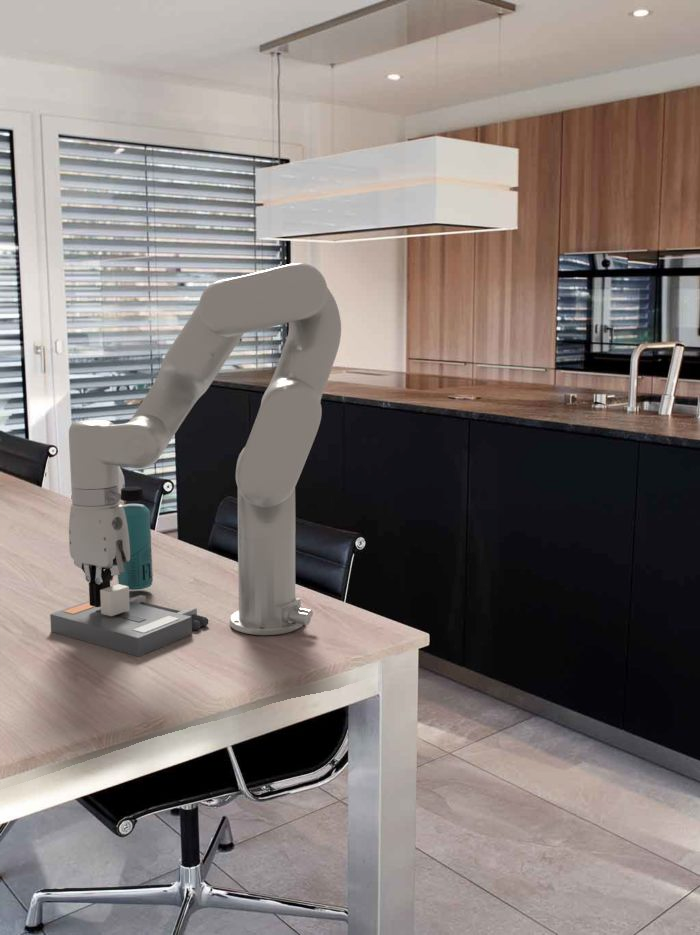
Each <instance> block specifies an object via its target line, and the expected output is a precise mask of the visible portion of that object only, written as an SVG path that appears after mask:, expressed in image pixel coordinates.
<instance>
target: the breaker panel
mask: <svg viewBox="0 0 700 935" xmlns="http://www.w3.org/2000/svg"><path fill="white" fill-rule="evenodd" d="M129 605H130V610H128V611H125V612H122V613H119V614H117V615H114V616H108V615H104V614H101V607H95V606H91V605H90V600H87V601H86V602H83V603H79V604H76V605H73V606H71V607H68V608H65V609H61V610H58V611H56V612H52V613H50V614H49V617H50V618H49V620H50V632H51V633H55V634H57V635H62V636H65V637H69V638H72V639H76V640H79V641H81V642H82V641H83V642H86V643H90V644H93V645H95V646H96V645H97V646H99V647H104V648H106V649H110V650H114V651H118V652H120V653H121V652H122V653H124V654H127V655H128V654H129V655H131V656H135V657H139V658H140V657H141V655H142V656H144V655H146V654H149V653H151V652H153V651H155V650H156V651H157V650H159V649H160V648H162V647H165V646H168V645H169V644H173V643H175V642H176V641H180V640H181V639H184V638H187V637H190V636H191V635H193V629H192V617H191V616H187V615H183V614H179V613H174V612H170V611H166V610H162V609H158V608H154V607H150V606H146V605H142V604H138V603H134V602H130V601H129Z"/></svg>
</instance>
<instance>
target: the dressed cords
mask: <svg viewBox="0 0 700 935" xmlns="http://www.w3.org/2000/svg"><path fill="white" fill-rule="evenodd" d="M146 598H147V597H146V595H142V594H140V595H137V596H134V597H131V598H129V601H130V602H134V603H138V604H142V605H146V606H150V607H154V608H158V609H162V610H166V611H170V612H174V613H179V614H183V615H187V616H191V617H192V631H197V630H199V629H200V628H201V627H204V628H205V627H206V626H208V624H209V619H208V618H207V617H205V616H202V615H198V608H196V607H194V606H191V607H188V608H185V609H183V610H179V609H177V610H176V609H173V608H169V607H166V606H161V605H157V604H153V603H148V602H147V599H146Z"/></svg>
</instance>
